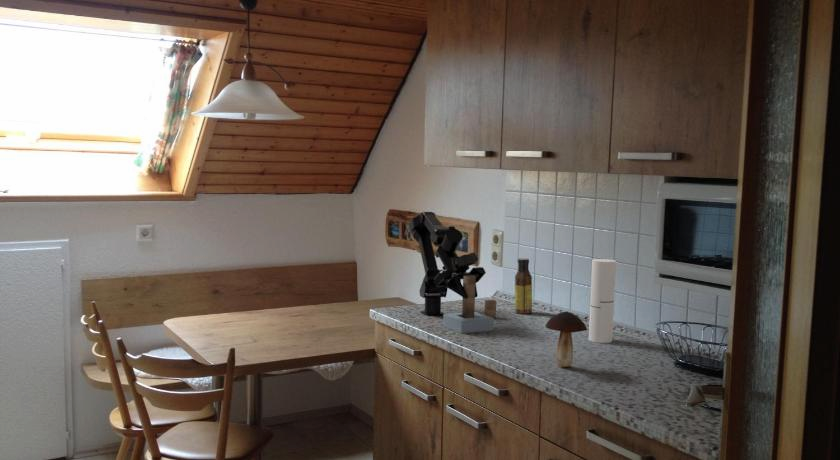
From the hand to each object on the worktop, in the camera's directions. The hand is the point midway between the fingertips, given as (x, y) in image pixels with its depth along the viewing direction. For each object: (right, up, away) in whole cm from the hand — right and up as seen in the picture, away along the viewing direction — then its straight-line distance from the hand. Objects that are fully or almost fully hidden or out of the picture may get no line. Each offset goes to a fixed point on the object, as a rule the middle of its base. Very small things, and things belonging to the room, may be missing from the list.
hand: (471, 297), depth 247 cm
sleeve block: (-1, -10, +2) cm, 10 cm away
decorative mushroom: (+22, -15, -43) cm, 51 cm away
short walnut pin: (+8, -9, +20) cm, 23 cm away
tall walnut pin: (-1, -7, +2) cm, 7 cm away
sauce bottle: (+21, -8, +30) cm, 37 cm away
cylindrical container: (+39, -12, -11) cm, 43 cm away
